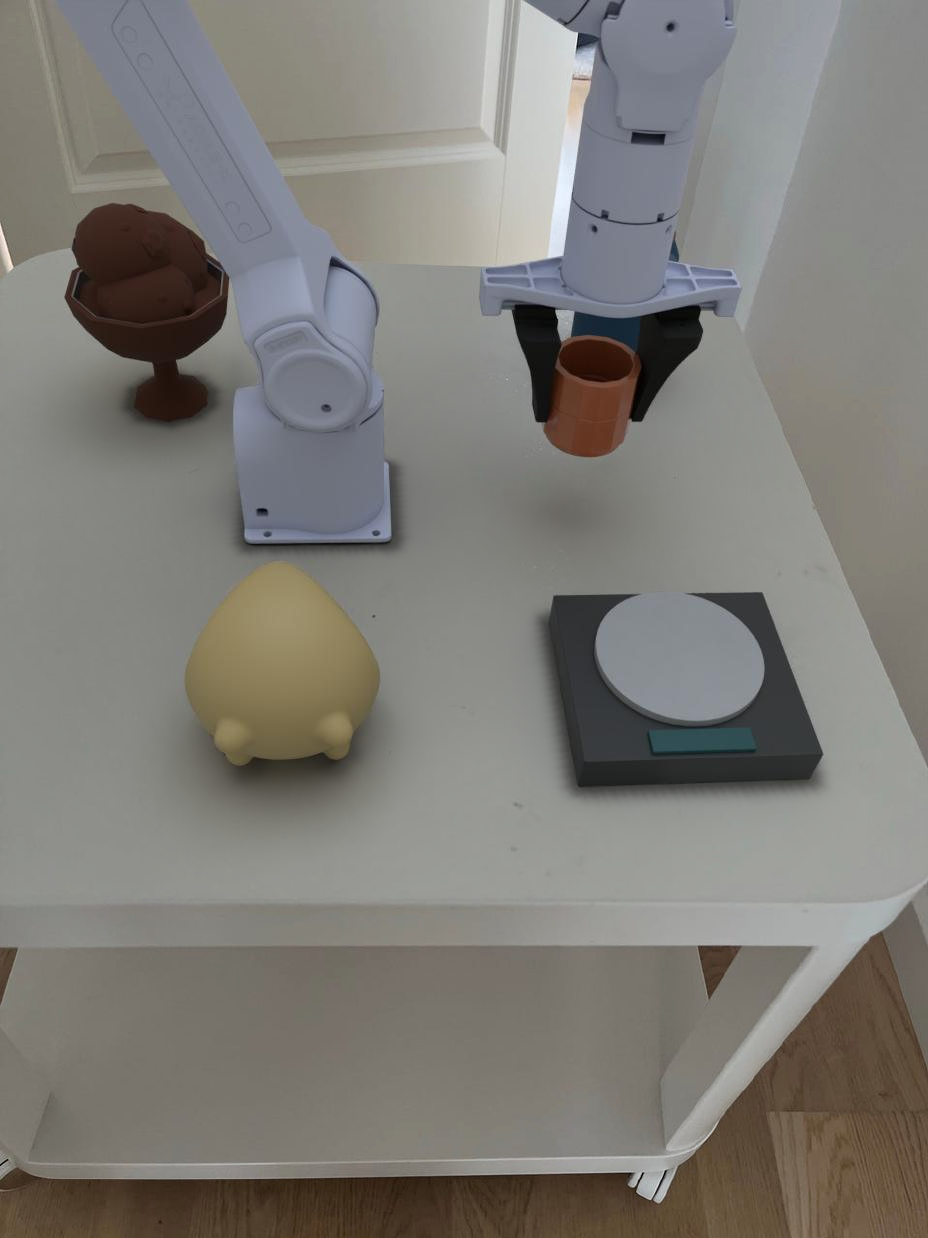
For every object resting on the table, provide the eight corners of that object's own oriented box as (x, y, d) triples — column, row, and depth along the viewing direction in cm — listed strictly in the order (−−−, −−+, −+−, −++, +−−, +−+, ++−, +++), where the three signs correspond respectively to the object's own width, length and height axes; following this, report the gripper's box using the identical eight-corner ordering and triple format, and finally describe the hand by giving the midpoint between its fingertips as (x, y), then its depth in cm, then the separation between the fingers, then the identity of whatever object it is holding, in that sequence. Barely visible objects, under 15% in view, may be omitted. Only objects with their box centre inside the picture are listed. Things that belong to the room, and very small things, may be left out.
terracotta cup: (547, 461, 62) (558, 387, 58) (535, 407, 65) (545, 334, 61) (633, 460, 62) (649, 386, 58) (616, 406, 66) (631, 334, 62)
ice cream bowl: (217, 454, 71) (185, 255, 60) (68, 428, 72) (10, 228, 61) (266, 371, 78) (246, 179, 67) (130, 348, 79) (88, 156, 68)
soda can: (662, 394, 79) (697, 250, 70) (576, 397, 78) (601, 252, 69) (638, 344, 84) (668, 204, 75) (557, 347, 83) (578, 205, 74)
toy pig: (374, 748, 59) (372, 567, 59) (387, 779, 47) (383, 554, 47) (204, 753, 58) (201, 569, 58) (172, 787, 46) (169, 555, 46)
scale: (577, 787, 54) (585, 755, 52) (548, 621, 62) (554, 587, 60) (810, 779, 55) (828, 748, 53) (752, 617, 63) (765, 584, 61)
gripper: (739, 168, 56) (685, 375, 66) (481, 162, 55) (466, 375, 65) (776, 228, 51) (712, 441, 61) (494, 225, 50) (476, 443, 60)
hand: (587, 412), depth 63 cm, fingers closed on terracotta cup, 5 cm apart
